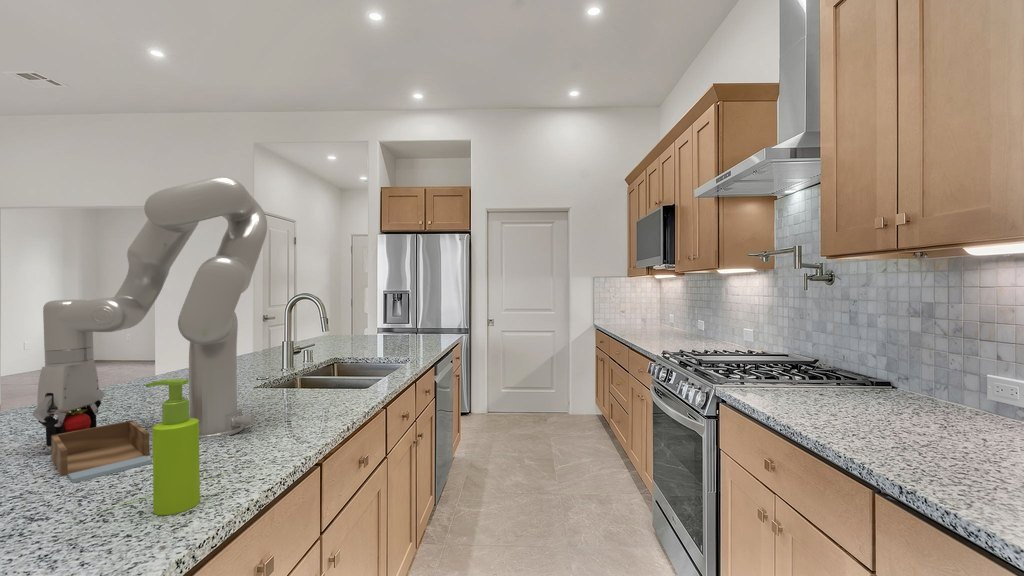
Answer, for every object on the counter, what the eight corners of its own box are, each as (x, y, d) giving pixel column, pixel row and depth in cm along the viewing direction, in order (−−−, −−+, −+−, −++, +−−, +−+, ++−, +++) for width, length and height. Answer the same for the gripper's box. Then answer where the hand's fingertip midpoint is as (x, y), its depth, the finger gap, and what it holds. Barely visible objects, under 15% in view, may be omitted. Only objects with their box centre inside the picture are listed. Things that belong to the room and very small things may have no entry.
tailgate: (66, 473, 81) (71, 479, 78) (145, 455, 90) (152, 459, 86) (67, 477, 81) (71, 483, 78) (145, 458, 90) (152, 463, 86)
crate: (51, 462, 89) (51, 435, 89) (132, 445, 99) (132, 420, 99) (61, 481, 80) (61, 450, 80) (149, 459, 90) (149, 432, 90)
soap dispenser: (163, 498, 73) (161, 376, 73) (207, 496, 74) (206, 375, 74) (136, 517, 67) (134, 384, 67) (185, 514, 68) (182, 383, 68)
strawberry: (50, 457, 92) (48, 409, 92) (57, 447, 98) (55, 402, 98) (89, 450, 96) (88, 403, 95) (93, 441, 102) (92, 397, 101)
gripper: (85, 351, 105) (87, 427, 105) (9, 364, 88) (13, 455, 88) (119, 350, 106) (122, 425, 106) (51, 363, 88) (55, 452, 88)
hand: (72, 438), depth 97 cm, fingers closed on strawberry, 7 cm apart
